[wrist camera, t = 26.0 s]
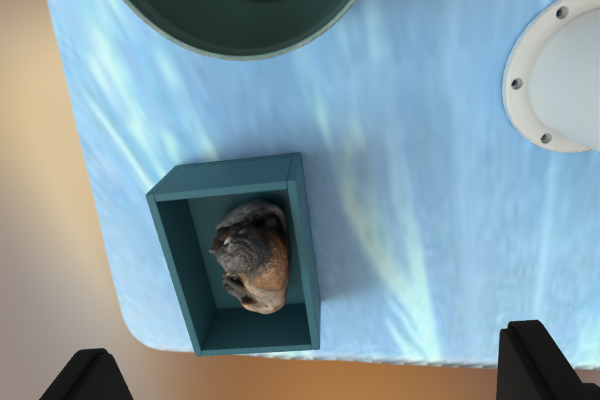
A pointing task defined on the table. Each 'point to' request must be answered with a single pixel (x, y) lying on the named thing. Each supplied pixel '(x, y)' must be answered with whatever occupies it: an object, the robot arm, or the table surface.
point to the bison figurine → (254, 255)
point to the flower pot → (240, 24)
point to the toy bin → (207, 270)
